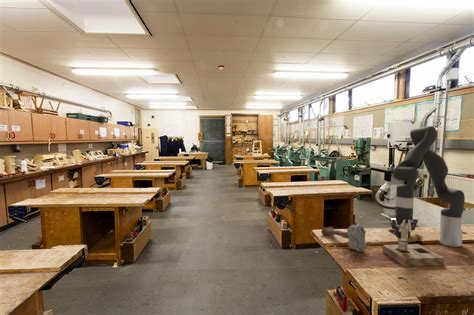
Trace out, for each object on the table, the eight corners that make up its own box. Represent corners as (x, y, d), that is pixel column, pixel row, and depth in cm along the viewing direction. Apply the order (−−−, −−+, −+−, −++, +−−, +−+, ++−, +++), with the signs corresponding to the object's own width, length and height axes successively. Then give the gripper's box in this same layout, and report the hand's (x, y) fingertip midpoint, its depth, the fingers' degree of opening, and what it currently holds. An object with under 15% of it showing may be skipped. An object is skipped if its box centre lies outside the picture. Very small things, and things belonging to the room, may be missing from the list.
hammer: (334, 237, 159) (373, 249, 131) (322, 242, 155) (360, 256, 127) (328, 216, 159) (366, 223, 131) (316, 221, 156) (353, 229, 128)
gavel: (382, 226, 163) (395, 226, 164) (382, 233, 163) (395, 232, 164) (407, 236, 142) (422, 235, 143) (408, 243, 142) (422, 243, 143)
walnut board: (417, 251, 132) (417, 243, 132) (443, 265, 116) (444, 257, 116) (382, 252, 131) (383, 244, 130) (404, 266, 115) (405, 258, 115)
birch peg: (403, 247, 125) (404, 221, 124) (409, 250, 121) (410, 223, 120) (395, 247, 125) (396, 221, 124) (401, 250, 121) (402, 223, 120)
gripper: (411, 203, 126) (410, 235, 127) (385, 203, 125) (384, 235, 126) (423, 207, 118) (422, 240, 119) (396, 207, 117) (395, 241, 118)
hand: (403, 238), depth 122 cm, fingers closed on birch peg, 4 cm apart
